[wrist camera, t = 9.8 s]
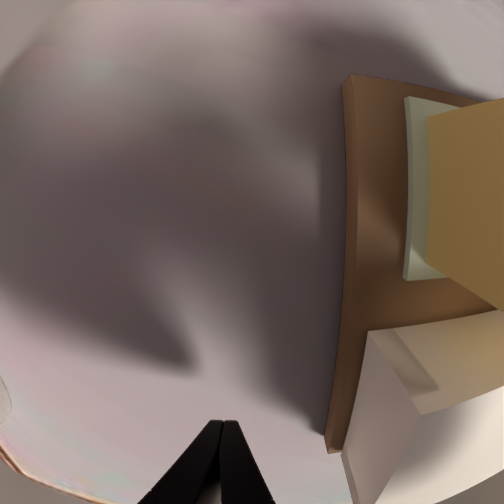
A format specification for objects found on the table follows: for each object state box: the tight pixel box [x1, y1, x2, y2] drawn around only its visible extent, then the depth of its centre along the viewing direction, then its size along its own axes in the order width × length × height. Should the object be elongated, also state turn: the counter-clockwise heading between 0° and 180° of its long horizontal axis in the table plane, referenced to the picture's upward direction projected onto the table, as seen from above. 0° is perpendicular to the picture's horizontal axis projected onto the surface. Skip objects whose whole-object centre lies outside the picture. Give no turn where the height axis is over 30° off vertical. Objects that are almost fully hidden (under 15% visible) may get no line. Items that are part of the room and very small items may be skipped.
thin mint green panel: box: [402, 96, 460, 281], centre depth 7 cm, size 5×5×1 cm
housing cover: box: [341, 310, 504, 504], centre depth 7 cm, size 7×6×4 cm
